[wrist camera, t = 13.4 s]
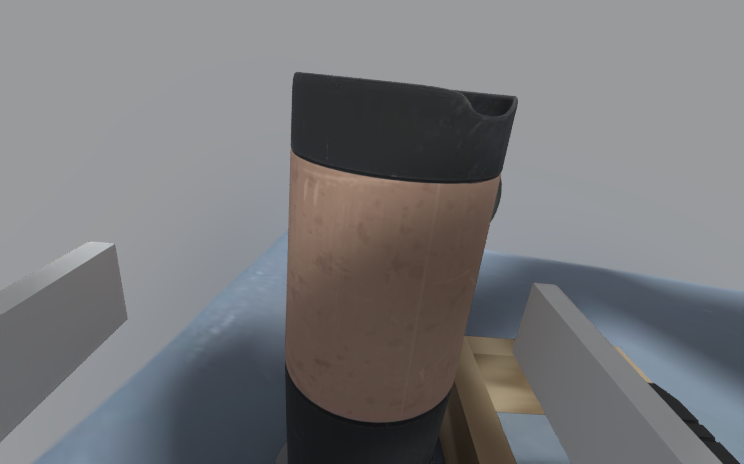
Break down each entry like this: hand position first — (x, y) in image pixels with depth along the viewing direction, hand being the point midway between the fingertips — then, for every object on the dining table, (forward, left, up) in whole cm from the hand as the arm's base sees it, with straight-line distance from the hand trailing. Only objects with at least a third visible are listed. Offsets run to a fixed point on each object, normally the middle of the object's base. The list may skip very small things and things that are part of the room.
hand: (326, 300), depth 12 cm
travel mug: (-2, -3, -13) cm, 14 cm away
